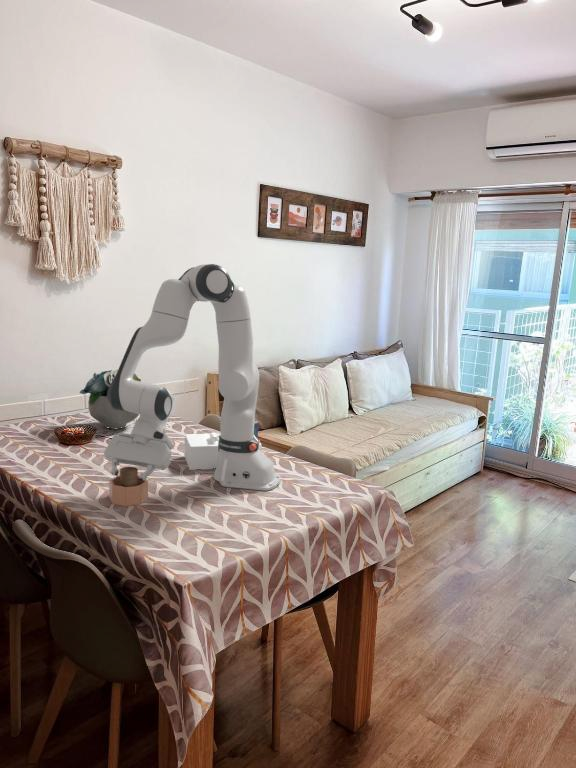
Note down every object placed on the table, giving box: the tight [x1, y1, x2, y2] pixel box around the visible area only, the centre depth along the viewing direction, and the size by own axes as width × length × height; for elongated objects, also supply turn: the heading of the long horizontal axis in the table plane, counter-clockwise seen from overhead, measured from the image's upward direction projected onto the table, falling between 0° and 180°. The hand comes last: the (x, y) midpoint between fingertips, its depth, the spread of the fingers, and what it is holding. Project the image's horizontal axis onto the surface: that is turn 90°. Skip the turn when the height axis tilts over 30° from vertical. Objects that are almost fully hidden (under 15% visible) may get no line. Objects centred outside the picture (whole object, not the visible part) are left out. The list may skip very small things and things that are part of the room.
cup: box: [108, 474, 149, 507], centre depth 174 cm, size 10×10×6 cm
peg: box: [119, 466, 139, 487], centre depth 173 cm, size 5×5×8 cm
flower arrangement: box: [79, 369, 142, 428], centre depth 242 cm, size 25×25×24 cm
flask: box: [254, 420, 259, 440], centre depth 232 cm, size 9×3×11 cm, turn 144°
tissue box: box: [183, 432, 263, 471], centre depth 211 cm, size 14×25×11 cm, turn 107°
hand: (127, 477), depth 173 cm, fingers open, 8 cm apart
